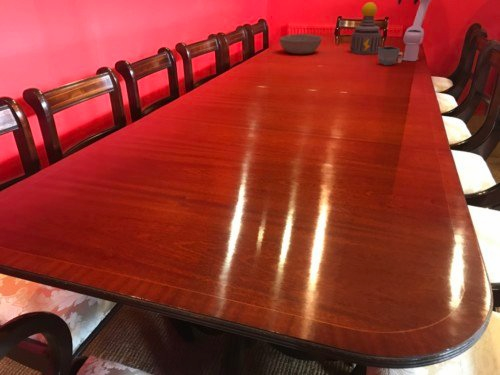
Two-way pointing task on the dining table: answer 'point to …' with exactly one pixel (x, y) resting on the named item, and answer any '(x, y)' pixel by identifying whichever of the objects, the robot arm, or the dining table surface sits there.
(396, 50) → the flower pot
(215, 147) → the dining table surface
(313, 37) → the bowl
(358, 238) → the dining table surface
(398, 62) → the letter cube
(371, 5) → the decorative lamp
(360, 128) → the dining table surface
